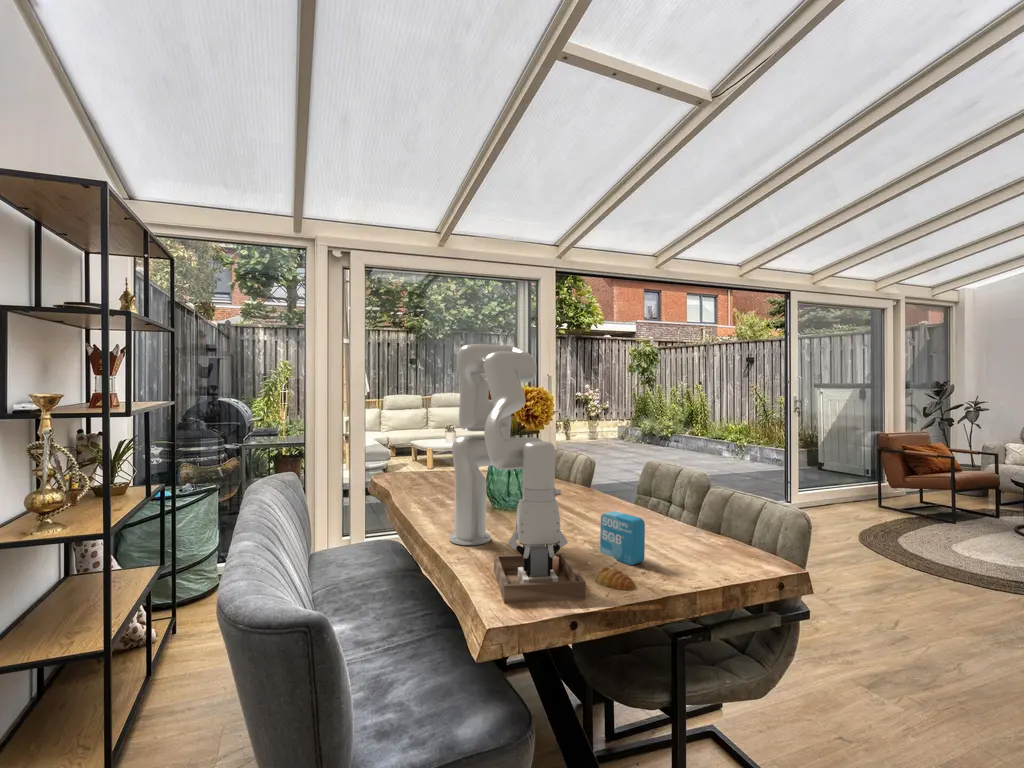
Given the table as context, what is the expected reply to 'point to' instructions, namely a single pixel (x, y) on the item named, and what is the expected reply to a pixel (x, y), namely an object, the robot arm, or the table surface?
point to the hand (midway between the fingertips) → (537, 572)
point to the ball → (556, 565)
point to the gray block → (538, 561)
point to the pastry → (614, 579)
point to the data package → (622, 537)
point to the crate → (537, 581)
